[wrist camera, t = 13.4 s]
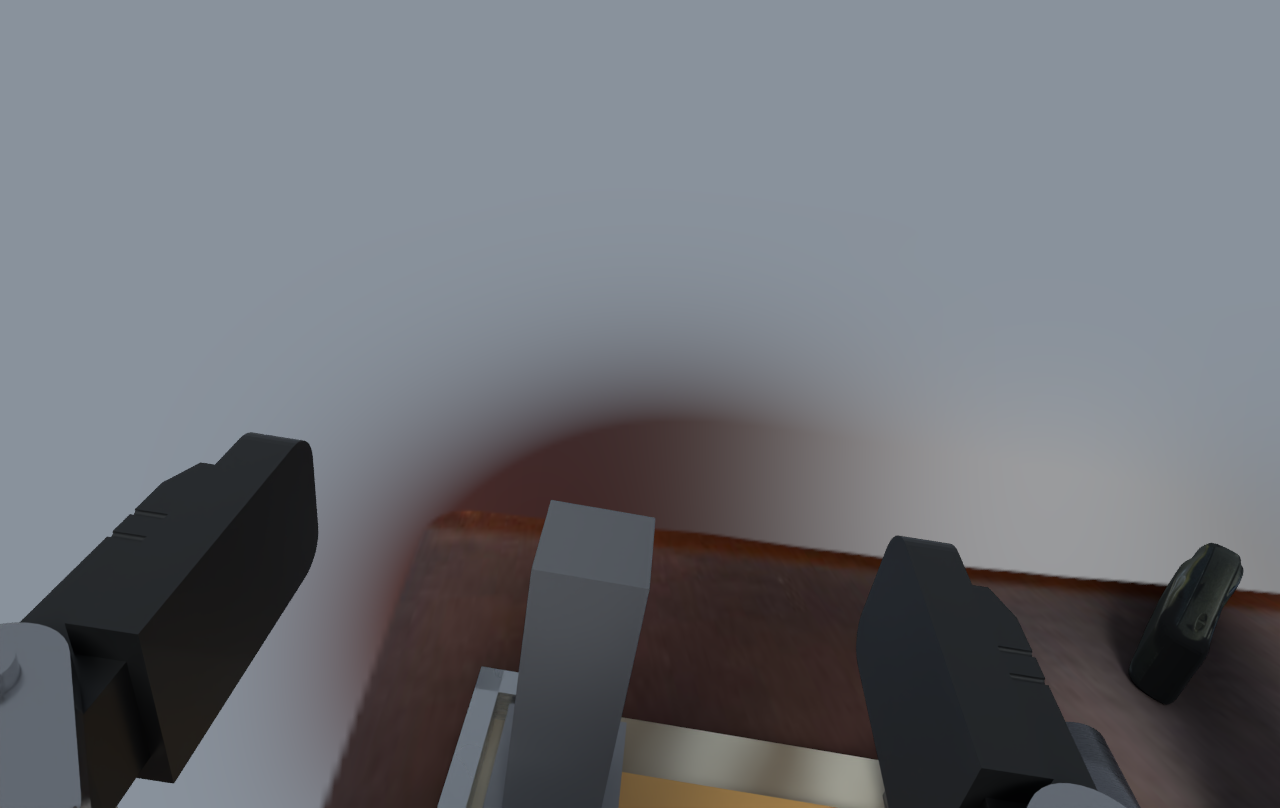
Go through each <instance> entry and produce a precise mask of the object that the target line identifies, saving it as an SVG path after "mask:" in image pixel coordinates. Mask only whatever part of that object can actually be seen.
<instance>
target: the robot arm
mask: <svg viewBox="0 0 1280 808" xmlns="http://www.w3.org/2000/svg"><path fill="white" fill-rule="evenodd" d="M317 540H318V520H317V508H316V495H315V481H314V467H313V456H312V450H311V447H310V445H309V444H308V443H307V442H306V441H302V440H296V439H290V438H283V437H276V436H271V435H264V434H258V433H247V434H245V435H243V436H242V437H241V438H240V439H239V440H238V441H237V442H236V443H235V444H234V445H233V446H232V447H231V449H229V451H228V452H227V453H226V454H225V455H224V456H223V457H222V458H221V459H220V460H219V461H218V462H217V463H216V464H215V465H213V464H207V463H199V464H197V465H195V466H193V467H191V468H189V469H188V470H185V471H184V472H182V473H180V474H178V475H176V476H174V477H172V478H170V479H168V480H166V481H164V482H163V483H161V484H160V485H159V486H158V487H157V488H156V489H155V490H154V491H153V492H152V493H151V494H150V495H149V496H148V497H147V498H146V499H145V500H144V501H143V502H142V503H141V504H140V505H139V506H138V507H137V508H136V509H135V513H134V515H131V514H130V515H129V516H128V517H127V518H126V519H125V520H124V521H123V522H122V523H121V524H120V525H119V526H118V527H116V528H115V529H114V530H113V535H112V537H106V538H105V539H104V540H103V541H102V542H101V543H100V544H99V545H98V546H97V547H96V548H95V549H94V550H93V551H92V552H91V553H90V554H89V555H88V556H87V557H86V558H85V559H84V560H83V561H82V562H81V563H80V564H79V565H78V566H77V567H76V568H75V569H74V570H73V571H72V572H71V573H70V574H69V575H68V576H67V577H66V578H65V579H64V580H63V581H61V582H60V583H59V584H58V585H57V586H56V587H55V588H54V589H53V590H52V591H51V593H49V594H48V595H47V596H46V597H45V598H44V599H43V600H42V601H41V602H40V603H39V604H38V605H37V606H36V607H35V608H34V609H33V610H32V611H31V612H30V613H29V614H28V615H27V616H26V617H25V618H24V619H23V620H22V621H21V622H19V623H6V624H0V808H118V807H117V805H118V804H119V802H120V801H121V799H122V798H123V796H124V795H125V793H126V792H127V790H128V789H129V787H130V786H131V785H132V783H133V781H134V780H135V779H136V778H142V779H148V780H154V781H161V782H167V783H174V782H175V781H176V779H177V778H178V776H179V775H180V773H181V771H182V770H183V768H184V767H185V765H186V764H187V762H188V761H189V759H190V757H191V755H192V754H193V753H194V751H195V749H196V748H197V746H198V744H199V743H200V742H201V740H202V738H203V737H204V735H205V734H206V732H207V731H208V729H209V728H210V726H211V724H212V723H213V721H214V719H215V718H216V717H217V715H218V713H219V712H220V710H221V709H222V707H223V706H224V704H225V702H226V701H227V699H228V698H229V696H230V695H231V693H232V691H233V690H234V688H235V687H236V685H237V684H238V682H239V680H240V679H241V677H242V676H243V674H244V673H245V671H246V669H247V668H248V666H249V665H250V663H251V661H252V660H253V658H254V657H255V655H256V654H257V652H258V651H259V649H260V647H261V646H262V644H263V643H264V641H265V640H266V638H267V636H268V635H269V633H270V632H271V630H272V629H273V627H274V625H275V624H276V622H277V621H278V619H279V618H280V616H281V614H282V613H283V611H284V610H285V608H286V607H287V605H288V603H289V602H290V600H291V599H292V597H293V596H294V594H295V592H296V591H297V589H298V588H299V586H300V585H301V583H302V582H303V580H304V578H305V577H306V575H307V573H308V571H309V569H310V567H311V564H312V562H313V559H314V556H315V552H316V547H317ZM856 652H857V662H858V667H859V672H860V677H861V681H862V686H863V691H864V695H865V700H866V704H867V709H868V714H869V718H870V723H871V728H872V732H873V737H874V742H875V746H876V751H877V756H878V760H879V765H880V770H881V774H882V779H883V784H884V788H885V793H886V797H887V802H888V807H889V808H1126V807H1125V806H1123V805H1122V804H1120V803H1119V802H1117V801H1116V800H1114V799H1112V798H1110V797H1109V796H1107V795H1105V794H1103V793H1101V792H1098V790H1097V788H1096V786H1095V784H1094V782H1093V780H1092V778H1091V775H1090V773H1089V771H1088V769H1087V767H1086V765H1085V763H1084V761H1083V758H1082V756H1081V754H1080V752H1079V750H1078V748H1077V746H1076V743H1075V741H1074V739H1073V737H1072V735H1071V733H1070V731H1069V728H1068V726H1067V724H1066V722H1065V720H1064V718H1063V716H1062V714H1061V711H1060V709H1059V707H1058V705H1057V703H1056V701H1055V699H1054V696H1053V694H1052V692H1051V690H1050V688H1049V686H1048V685H1045V683H1044V680H1045V677H1044V675H1043V673H1042V671H1041V669H1040V666H1039V664H1038V662H1037V660H1036V658H1035V657H1032V649H1031V647H1030V645H1029V643H1028V641H1027V639H1026V637H1025V634H1024V632H1023V630H1022V628H1021V626H1020V624H1019V622H1018V619H1017V618H1016V617H1015V616H1014V615H1013V613H1012V612H1011V611H1010V610H1009V609H1008V608H1007V607H1006V606H1005V605H1004V604H1003V603H1002V602H1001V601H1000V600H999V598H998V597H997V596H996V595H995V594H994V593H993V592H992V591H991V590H990V589H989V588H988V587H981V586H975V585H972V584H971V581H970V579H969V577H968V574H967V572H966V569H965V567H964V565H963V562H962V560H961V558H960V555H959V553H958V551H957V549H956V548H955V546H953V545H952V544H948V543H942V542H936V541H929V540H923V539H916V538H910V537H903V536H895V537H893V539H892V540H891V541H890V543H889V544H888V547H887V549H886V551H885V554H884V557H883V559H882V562H881V565H880V567H879V570H878V572H877V575H876V578H875V580H874V583H873V585H872V588H871V591H870V593H869V596H868V599H867V601H866V604H865V606H864V609H863V612H862V614H861V617H860V621H859V626H858V632H857V643H856Z"/></svg>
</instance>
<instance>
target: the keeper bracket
mask: <svg viewBox="0 0 1280 808" xmlns="http://www.w3.org/2000/svg"><path fill="white" fill-rule="evenodd" d="M518 674H519V673H518V672H512V671H506V670H500V669H494V668H488V667H481V670H480V673H479V676H478V680H477V683H476V686H475V689H474V692H473V696H472V699H471V702H470V705H469V708H468V711H467V715H466V718H465V721H464V724H463V727H462V730H461V734H460V737H459V740H458V743H457V746H456V750H455V753H454V756H453V759H452V762H451V765H450V769H449V772H448V775H447V778H446V781H445V784H444V788H443V791H442V794H441V797H440V800H439V804H438V807H437V808H471V806H472V802H473V798H474V795H475V791H476V788H477V784H478V780H479V777H480V773H481V769H482V766H483V762H484V758H485V755H486V751H487V747H488V744H489V740H490V737H491V733H492V729H493V726H494V722H495V719H498V720H504V721H505V719H506V716H507V712H508V708H509V704H510V703H512V704H515V698H516V690H517V682H518Z"/></svg>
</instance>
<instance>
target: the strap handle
mask: <svg viewBox="0 0 1280 808" xmlns="http://www.w3.org/2000/svg"><path fill="white" fill-rule="evenodd" d="M654 528H655V518H653V517H647V516H641V515H635V514H630V513H624V512H618V511H612V510H607V509H601V508H595V507H589V506H583V505H577V504H571V503H565V502H560V501H554V500H551V502H550V506H549V509H548V513H547V516H546V520H545V524H544V527H543V531H542V534H541V538H540V541H539V545H538V548H537V552H536V555H535V559H534V562H533V566H532V570H531V578H530V586H529V594H528V602H527V610H526V618H525V626H524V634H523V642H522V650H521V658H520V666H519V674H518V682H517V690H516V698H515V704H512V703H510V704H509V708H508V712H507V716H506V719H505V723H504V727H503V731H502V735H501V739H500V742H499V746H498V750H497V754H496V758H495V762H494V765H493V769H492V773H491V777H490V781H489V785H488V788H487V792H486V796H485V800H484V804H483V808H837V807H830V806H824V805H818V804H812V803H806V802H800V801H794V800H788V799H782V798H776V797H770V796H764V795H758V794H752V793H746V792H740V791H734V790H728V789H722V788H716V787H710V786H704V785H698V784H692V783H686V782H680V781H674V780H668V779H662V778H656V777H650V776H644V775H638V774H632V773H625V772H622V766H623V756H624V745H625V735H626V725H627V723H626V722H620V721H621V717H622V712H623V708H624V703H625V698H626V694H627V689H628V685H629V680H630V676H631V671H632V667H633V662H634V658H635V653H636V648H637V644H638V639H639V635H640V630H641V626H642V621H643V617H644V612H645V608H646V603H647V598H648V594H649V589H650V577H651V565H652V553H653V541H654Z"/></svg>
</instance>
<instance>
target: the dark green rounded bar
mask: <svg viewBox="0 0 1280 808" xmlns="http://www.w3.org/2000/svg"><path fill="white" fill-rule="evenodd" d="M1242 576H1243V567H1242V566H1241V559H1240V556H1239V555H1238V554H1236V553H1234V552H1233V551H1231V550H1229V549H1227V548H1225V547H1223V546H1220V545H1218V544H1214V543H1209V544H1206V545H1204V546H1202V547H1201V548H1200V549H1199V550H1198V551H1197V552H1196V553H1195V555H1194V556H1193V557H1192V558H1191V559H1189V560H1187V561H1186V562H1184V563H1183V564H1182V565H1181V566H1180V567H1179V569H1178V570H1177V572H1176V573H1175V575H1174V577H1173V578H1172V580H1171V581H1170V583H1169V584H1168V586H1167V587H1166V589H1165V591H1164V592H1163V594H1162V596H1161V598H1160V600H1159V602H1158V604H1157V606H1156V608H1155V610H1154V613H1153V615H1152V617H1151V619H1150V621H1149V623H1148V625H1147V627H1146V629H1145V631H1144V634H1143V637H1142V639H1141V641H1140V644H1139V646H1138V648H1137V650H1136V653H1135V655H1134V657H1133V659H1132V662H1131V664H1130V667H1129V675H1130V677H1131V679H1132V680H1133V682H1134V683H1135V685H1137V686H1138V687H1139V688H1140V689H1141V690H1142V691H1144V692H1145V693H1146V694H1148V695H1149V696H1151V697H1152V698H1154V699H1156V700H1157V701H1159V702H1161V703H1163V704H1170V703H1172V702H1173V701H1175V700H1176V699H1177V697H1178V696H1179V695H1180V693H1181V692H1182V690H1183V689H1184V687H1185V686H1186V685H1187V683H1188V682H1189V680H1190V679H1191V678H1192V676H1193V675H1194V674H1195V672H1196V671H1197V670H1198V668H1199V667H1200V665H1201V664H1202V663H1203V661H1204V660H1205V658H1206V656H1207V654H1208V651H1209V647H1210V641H1211V638H1212V635H1213V632H1214V629H1215V626H1216V624H1217V621H1218V619H1219V616H1220V613H1221V610H1222V608H1223V607H1224V605H1225V604H1226V602H1227V601H1228V599H1229V598H1230V597H1231V595H1232V594H1233V593H1234V591H1235V590H1236V588H1237V587H1238V585H1239V583H1240V581H1241V578H1242Z"/></svg>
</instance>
